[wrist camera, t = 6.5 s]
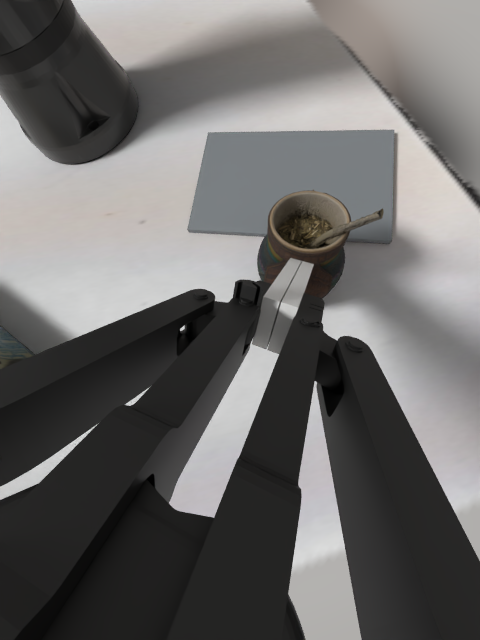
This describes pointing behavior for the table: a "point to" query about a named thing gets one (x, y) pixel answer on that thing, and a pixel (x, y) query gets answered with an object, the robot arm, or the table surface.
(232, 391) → the table surface
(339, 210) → the mate gourd
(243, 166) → the mat
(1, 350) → the beverage carton
